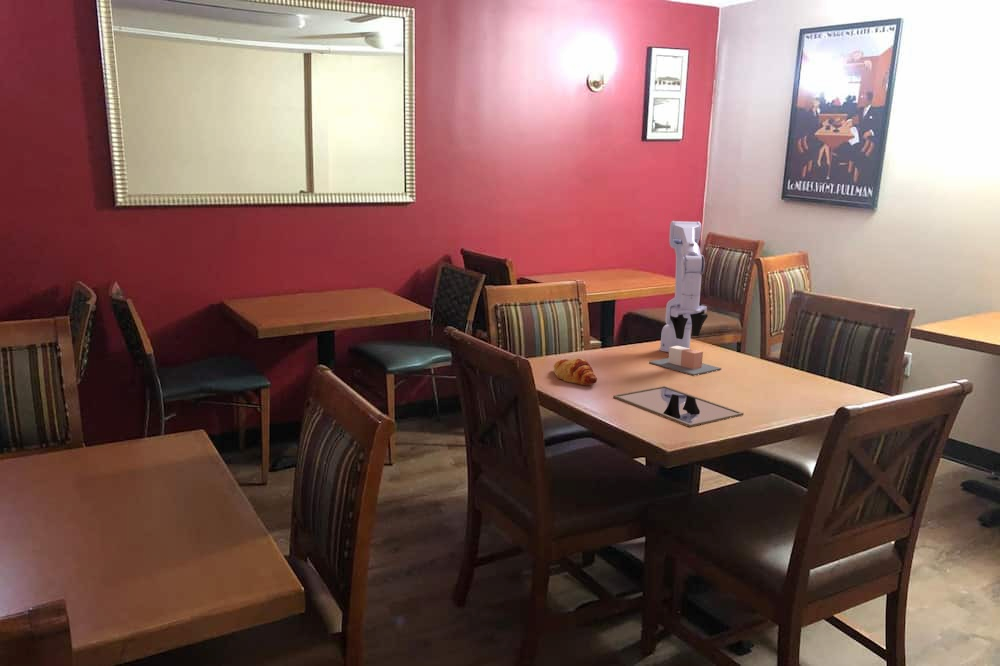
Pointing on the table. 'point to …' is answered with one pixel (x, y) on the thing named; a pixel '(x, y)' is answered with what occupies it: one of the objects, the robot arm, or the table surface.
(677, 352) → the two-tone block
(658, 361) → the mat
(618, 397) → the picture frame
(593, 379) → the croissant
